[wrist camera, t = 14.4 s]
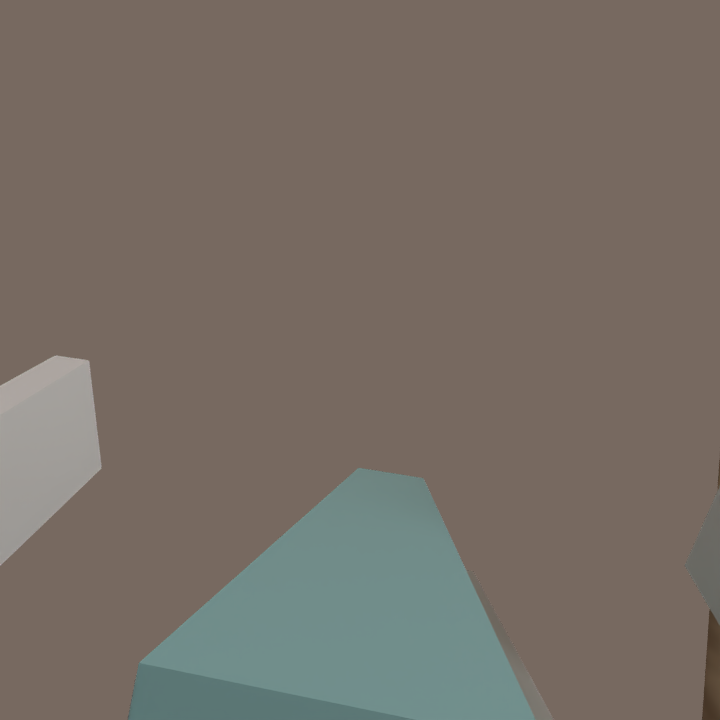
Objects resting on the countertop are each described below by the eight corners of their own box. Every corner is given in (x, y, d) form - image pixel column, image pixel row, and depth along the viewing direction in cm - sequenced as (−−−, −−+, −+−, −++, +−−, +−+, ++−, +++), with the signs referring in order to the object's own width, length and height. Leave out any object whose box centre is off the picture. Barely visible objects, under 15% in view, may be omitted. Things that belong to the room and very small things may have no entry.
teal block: (497, 1263, 4) (547, 747, 4) (51, 1126, 4) (139, 663, 5) (414, 545, 28) (423, 478, 28) (348, 533, 28) (358, 468, 28)
